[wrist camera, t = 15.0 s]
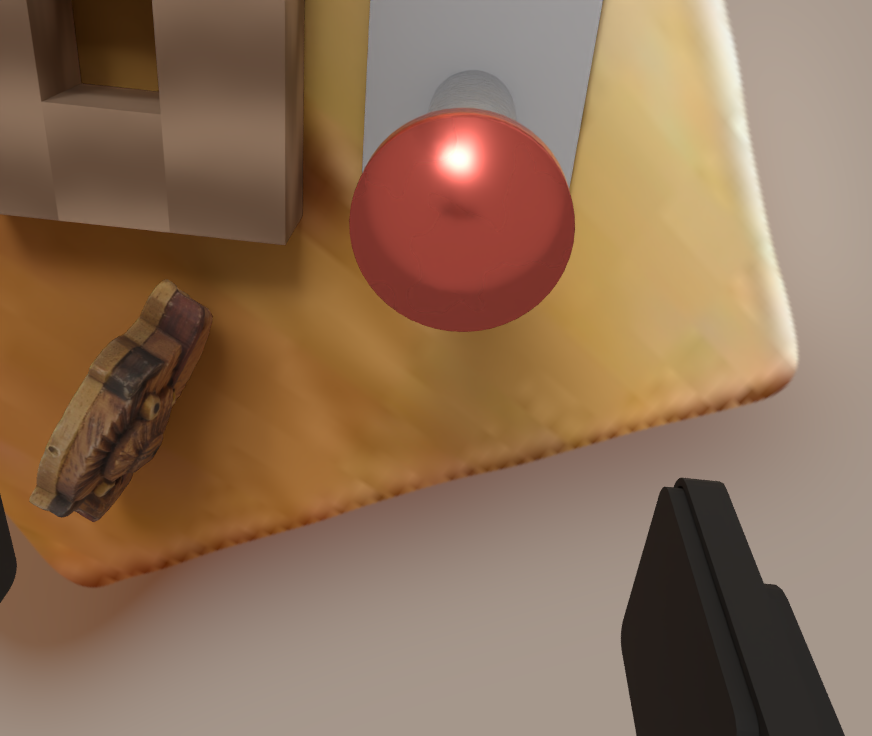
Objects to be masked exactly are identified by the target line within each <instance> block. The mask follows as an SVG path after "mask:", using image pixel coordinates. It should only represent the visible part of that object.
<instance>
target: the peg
mask: <svg viewBox="0 0 872 736" xmlns="http://www.w3.org/2000/svg"><path fill="white" fill-rule="evenodd" d="M349 222H350V238H351V244H352V249H353V252H354V255H355V258H356V261H357V263H358V266H359V268H360V270H361V272H362V274H363V276H364V277H365V279H366V280H367V282H368V284H369V285H370V286H371V288H372V289H373V290H374V291H375V292H376V294H377V295H378V296H379V297H380V298H381V299H382V300H383V301H384V302H385V303H386V304H388V305H389V306H390V307H392V308H393V309H394V310H396V311H397V312H398V313H400V314H402V315H403V316H405V317H407V318H409V319H410V320H413V321H415V322H417V323H420V324H422V325H425V326H428V327H432V328H435V329H440V330H446V331H457V332H469V331H480V330H485V329H491V328H494V327H497V326H500V325H504V324H506V323H508V322H511V321H513V320H515V319H517V318H519V317H521V316H522V315H524V314H525V313H527V312H529V311H530V310H531V309H533V308H534V307H535V306H536V305H538V304H539V303H540V302H541V301H542V300H543V299H544V298H545V297H546V296H547V295H548V294H549V293H550V292H551V290H552V289H553V288H554V286H555V285H556V284H557V282H558V281H559V279H560V277H561V276H562V274H563V272H564V270H565V268H566V265H567V263H568V260H569V258H570V255H571V251H572V247H573V242H574V233H575V215H574V209H573V203H572V199H571V195H570V191H569V187H568V184H567V181H566V178H565V175H564V173H563V171H562V169H561V166H560V164H559V162H558V161H557V159H556V158H555V156H554V155H553V153H552V152H551V150H550V149H549V148H548V147H547V146H546V144H545V143H544V142H543V141H542V140H541V139H540V138H539V137H538V136H537V135H535V134H534V133H533V132H532V131H531V130H529V129H528V128H526V127H525V126H523V125H522V124H520V123H519V122H517V121H516V111H515V105H514V101H513V98H512V95H511V93H510V91H509V90H508V88H507V87H506V86H505V84H504V83H503V82H502V81H501V80H499V79H498V78H497V77H495V76H494V75H492V74H490V73H487V72H484V71H480V70H465V71H461V72H458V73H455V74H453V75H451V76H450V77H448V78H447V79H446V80H444V81H443V82H442V83H441V84H440V85H439V87H438V88H437V89H436V91H435V93H434V95H433V97H432V99H431V103H430V106H429V109H428V113H427V114H425V115H422V116H419V117H417V118H415V119H413V120H411V121H409V122H407V123H406V124H404V125H402V126H401V127H400V128H398V129H397V130H395V131H394V132H393V133H391V134H390V135H389V136H388V137H387V138H386V139H385V140H384V141H383V142H382V143H381V144H380V146H379V147H378V148H377V149H376V151H375V152H374V153H373V155H372V156H371V158H370V160H369V161H368V163H367V165H366V167H365V169H364V171H363V173H362V175H361V177H360V179H359V182H358V184H357V187H356V189H355V192H354V196H353V200H352V204H351V210H350V219H349Z"/></svg>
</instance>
